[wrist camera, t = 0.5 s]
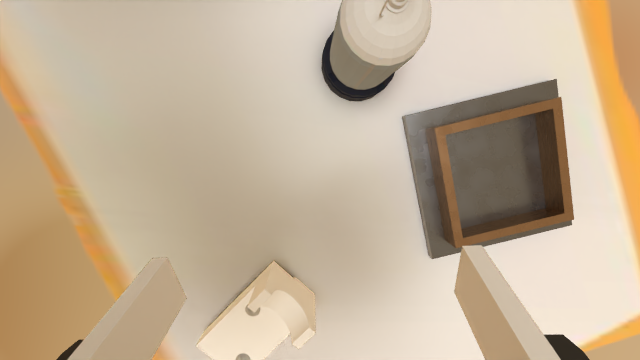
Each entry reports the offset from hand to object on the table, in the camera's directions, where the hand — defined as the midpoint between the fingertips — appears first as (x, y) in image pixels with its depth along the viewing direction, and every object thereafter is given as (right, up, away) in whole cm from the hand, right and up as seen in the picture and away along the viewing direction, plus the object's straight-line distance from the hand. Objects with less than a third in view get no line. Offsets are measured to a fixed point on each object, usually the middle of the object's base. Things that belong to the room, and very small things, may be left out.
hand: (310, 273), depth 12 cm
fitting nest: (+21, +5, +21) cm, 30 cm away
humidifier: (+5, +18, +19) cm, 27 cm away
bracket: (-7, -13, +23) cm, 28 cm away
